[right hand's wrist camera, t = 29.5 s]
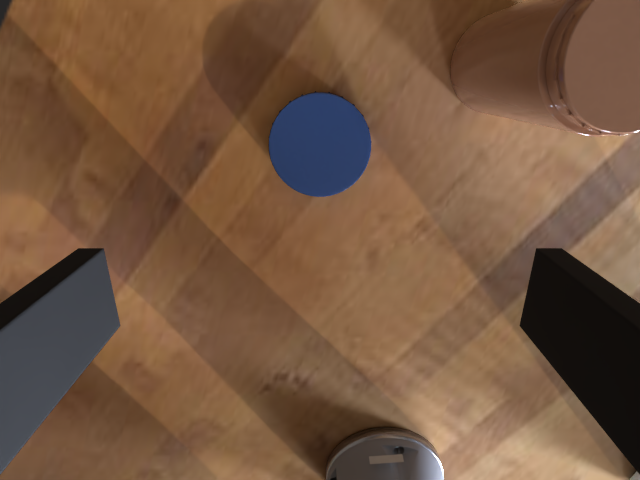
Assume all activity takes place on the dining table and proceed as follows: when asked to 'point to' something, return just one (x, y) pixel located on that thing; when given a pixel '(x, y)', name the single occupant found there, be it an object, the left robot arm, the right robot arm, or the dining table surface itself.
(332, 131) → the lid
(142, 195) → the dining table surface
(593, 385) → the right robot arm
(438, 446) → the dining table surface
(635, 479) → the hard drive box
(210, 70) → the dining table surface
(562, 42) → the jar
